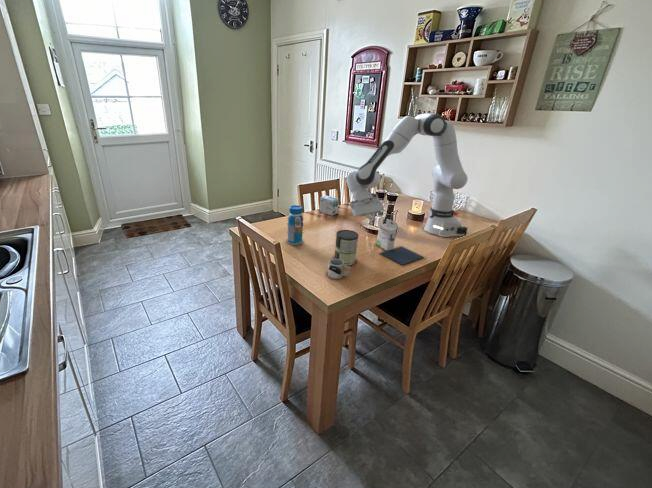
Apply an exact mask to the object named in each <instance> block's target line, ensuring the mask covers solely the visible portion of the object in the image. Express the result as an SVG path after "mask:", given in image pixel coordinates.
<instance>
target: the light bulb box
mask: <svg viewBox="0 0 652 488" xmlns="http://www.w3.org/2000/svg"><path fill="white" fill-rule="evenodd" d="M319 200H320V201H319V213H322V214H324V215H328V216H330V217H331V216H336V215H337V214H338V212H339V201H340V199H339V198H338V197H335V196H334V197H333V196H330V195H323V196H320V199H319Z"/></svg>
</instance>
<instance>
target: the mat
mask: <svg viewBox="0 0 652 488" xmlns="http://www.w3.org/2000/svg"><path fill="white" fill-rule="evenodd" d="M379 255H381V256H383V257H385V258H387V259H389V260H391V261H393V262H395V263H397V264H399V265H400V266H405V265H408V264H411V263H414V262H416V261H419V260H422V259H424V256H422V255H420V254H418V253H416V252H414V251H412V250H410V249H408V248H406V247H403V246H399V247H395V248H393V249H392V250H388V251H386V250H385V251H383V252H380V254H379Z"/></svg>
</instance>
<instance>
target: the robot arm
mask: <svg viewBox="0 0 652 488" xmlns="http://www.w3.org/2000/svg"><path fill="white" fill-rule="evenodd" d="M416 135H421V136H429V137H432V141H433V148H434V155H435V160H436V162H437V163H438V164H436V165H435V166H434V167H433V168H432V171H431V175H432V180H433V196H432V203H431V206H430V209H429V212H428V218H427V221H426V223H425V225H424V227H423V230H424V231H425V232H426V233H429V234H432V235H436V236H437V237H442V238H449V237H464V236H465V235H466V234H467V232H468V229H469V228H468V227H467V226H463V225H462V223H461V221H460V220H458V218H457V217H455V216H458V214H459V213H458V212H457V211H456V210H454V209H453V207H454V202H455V198H456V196H455V193H454V190H460V189H462V188H464V187H465V186H466V184H467V183H468V179H469V178H468V175H467V174H466V172H465V170H464V167H463V165H462V162H461V159H460V156H459V151H458V143H457V142H458V141H457V134H456V130H455V126H454V124H453V122H452V121H450V120H446V119H445V118H444V117H443V116H442V115H441V114H438V113H433V112H421V113H418V114H416V115H415V116H412V115H406V116H404V117H402V118H401V119H400V121H398V122H397V124H396V125H395V126H394V127H393V129H392V130H391V132H390V133H389V134H388V136H387V137H386V138H385V140H384V141H383V142H382V143H381V144H380V145H379V146H378V148H377V149H376V150H375V152H374V153H373V154H372V155H371V156H370V158H369V159H368V160H367V161H366V162H365V163H364V164H362V165H361V166H359V167H358V169H357V170H354V171H352V172H350V173H349V174H348V175H347V176H346V179H345V181H346V185H347V187H348V188H347V189H348V190H349V192H350V193H351V195H352V199H353V200H351V201H350V202H349V207H350V209H351V213H352V215H353V217H354V218H361V217H366V219H368V220H369V222H370V223H373V222H376V221H377V217H376V214H377V213H381V212H382V211H384V209H385V207H384V205H383V203H382V201H381V199H379V198H378V197H379V196H378V194H377V193H373V192H369V190H371V189H373V188H376V187H377V186H379V185H380V183H381V181H382V177H381V174H380V173H379V172H378V171H377V170H378V169H379V168H380V166H381V165H382V164H383V162H384V161H385V160H386V159H387V158H388V157H389V156H391V155H394V154H400V153H402V152H403V151H404V150H405V149H407V147H408V146H409V144H410V143H411V141H412V139H414V137H415V136H416Z"/></svg>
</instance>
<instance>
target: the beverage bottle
mask: <svg viewBox="0 0 652 488" xmlns="http://www.w3.org/2000/svg"><path fill="white" fill-rule="evenodd" d="M288 209H289V215H288V216H287V237H286V238H287V240H286V242H287V244H289V245H293V246H297V245H301V244H302V243H303V231H304V230H303V229H304V222H303V221H304V216H303V207H302V206H301V205H295V204H293V205H290V206H289V208H288Z"/></svg>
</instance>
